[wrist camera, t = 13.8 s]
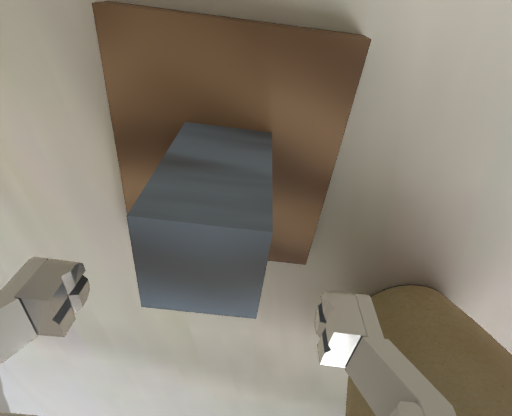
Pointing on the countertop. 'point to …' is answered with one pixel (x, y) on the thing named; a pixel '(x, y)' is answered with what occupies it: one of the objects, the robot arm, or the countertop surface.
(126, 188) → the walnut board
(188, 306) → the slate-blue block
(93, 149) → the countertop surface
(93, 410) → the countertop surface
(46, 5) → the countertop surface
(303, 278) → the countertop surface
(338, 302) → the robot arm
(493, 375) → the plant pot
